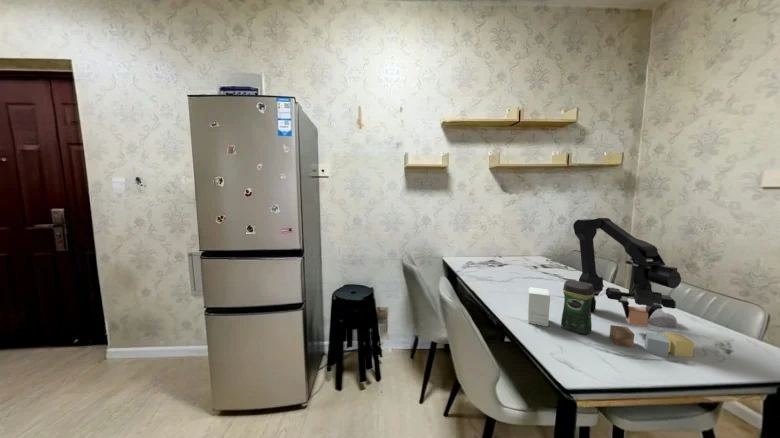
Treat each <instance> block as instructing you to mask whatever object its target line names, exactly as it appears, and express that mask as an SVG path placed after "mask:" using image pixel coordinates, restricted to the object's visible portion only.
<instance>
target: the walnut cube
mask: <svg viewBox="0 0 780 438" xmlns="http://www.w3.org/2000/svg"><path fill="white" fill-rule="evenodd" d="M609 339H610V341H611V342H612V343H613V345H614V346H619V347H625V348H631V349H633V348H634V343H635V333H634V332H633V331H632V330H631V329H630V328H629V327H628V326H624V325H623V326H622V325H616V324H615V325H614V324H610V327H609Z"/></svg>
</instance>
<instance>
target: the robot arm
mask: <svg viewBox="0 0 780 438" xmlns="http://www.w3.org/2000/svg"><path fill="white" fill-rule="evenodd" d="M572 224H573V227H572V228H573V231H574V235H575V236H576V237H577V238H578V240H579V249H580V261H581V263H580V264H581V272H582V273H581V275H580V276H579V278H578V281H580V282H585V283H590V284H593V288H594V296H593V298H592V300H591V313H595V310H596V304H597V300H596V297H598V296H599V295H600V293H601V292H602V291H603V288H604V287H605V285H604V279H603V277H602V276H601V277H600V276H599V275H598V273H597V269H596V268H597V266H596V257H595V246H594V239H595V237H596V235H597V234H598V233H597V232H598V230H599V229H600V230H601V231H603V232H604V233H605V234H606V235H608V236H609V237H611V238H612V239H613V240H614V241H616V242H617V243H619V244H620V245H621V246H622V247H623V248H624V251H625V253H626V254H627V255H628V256H629V257H630V259H628V260H625V263H624V264H627V265H630V277H629V288H628V292H624V291H621V289H619V288H615V287H606V289H605V295H606V297H607V299H609V300H613V301H614V300H615V301H617V302H618V303H620V304H621V306H622V309H623V311H624V315H625V319H626V318H628V316H629V311H628V306H630V301H628V299H631V300H634V303H635V304H636V305H639V306H645V307H646V311H647V312H648V319H649V318H650V316H651V315H652V314H653V312H654V311H655V310H657V309H661V310H662V309H663V308H666V309H667V308H668V309H676V305H677V301H675V299H674V298H672V297H671V296H670V295H666V294H663V293H662V292H659V291H653V290H652V283H653V284H657V285H660V286H663V287H666V288H669V289H676V288H678V287H679V285H680V284H681V282H682V277H681V274H680V273H679V272H678V268H677V267H674V266H668V265H666V263H665V261H664V259H663V258H662V256H661V255H660V254H659V252H658V251H659V250H658V248H657V247H656V246H655V245H653V244H652V243H650V242H648V241H646V240H643V239H639V238H636V237H634V236H633V235H632V234H630V233H629V232H627V231H626V230H625V229H623V228H622V227H620V226H619V225H618V224H616V223H615V222H614V221H612V220H611V218H609V217H598V218H597V217H596V218H595V219H593V218H592V219H591V218H589V219H587V218H586V219H576V220H575V221H574V223H572Z"/></svg>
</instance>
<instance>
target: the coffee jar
mask: <svg viewBox="0 0 780 438" xmlns="http://www.w3.org/2000/svg"><path fill="white" fill-rule="evenodd" d="M562 291H563V296H564V297H563V298H564V301H563V309H562V313H561V318H560V319H561V320H560V326H561V327H562V328H563V329H565V330H567V331H570V332H573V333H577V334H581V335H582V334H583V335H588V334H589V333H591V332H592V325H593V324H592V312H591V300H592V298H593V296H594V288H593V284H590V283H585V282H580V281H579V280H574V279H567V280H565V282H564V284H563V288H562ZM594 297H595V296H594Z"/></svg>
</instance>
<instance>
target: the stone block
mask: <svg viewBox="0 0 780 438" xmlns="http://www.w3.org/2000/svg"><path fill="white" fill-rule="evenodd" d="M638 307H639V308H644V309H645V310H646V306H638ZM647 324H649V325H650V326H656V327H668V326H669V328H670V327H671V328H674V327H675V328H676V327H677V324H678V321H677V317H675V316H674V315H673V314H671V313H669V312H668V313H667V312H665V311H663V310H662V309H657V310H655V311H654V312H653V314H652V315H651V316H650V318H649V319H648V321H647Z"/></svg>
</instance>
